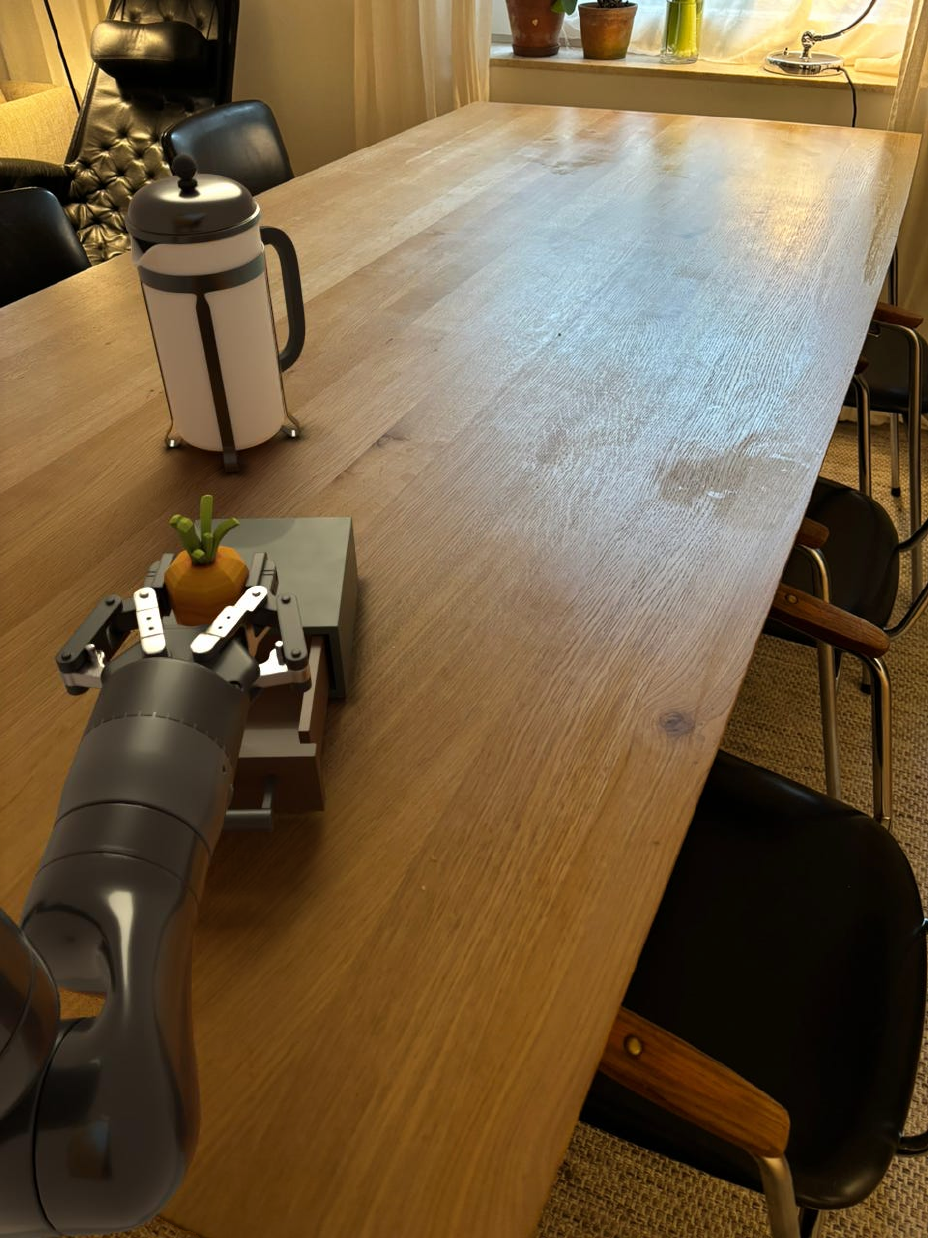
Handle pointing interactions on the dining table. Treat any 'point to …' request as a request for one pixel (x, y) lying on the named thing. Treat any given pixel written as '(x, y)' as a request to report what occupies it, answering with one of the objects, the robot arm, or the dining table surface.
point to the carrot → (204, 570)
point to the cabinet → (307, 577)
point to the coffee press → (215, 308)
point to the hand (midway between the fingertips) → (217, 564)
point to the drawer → (281, 747)
